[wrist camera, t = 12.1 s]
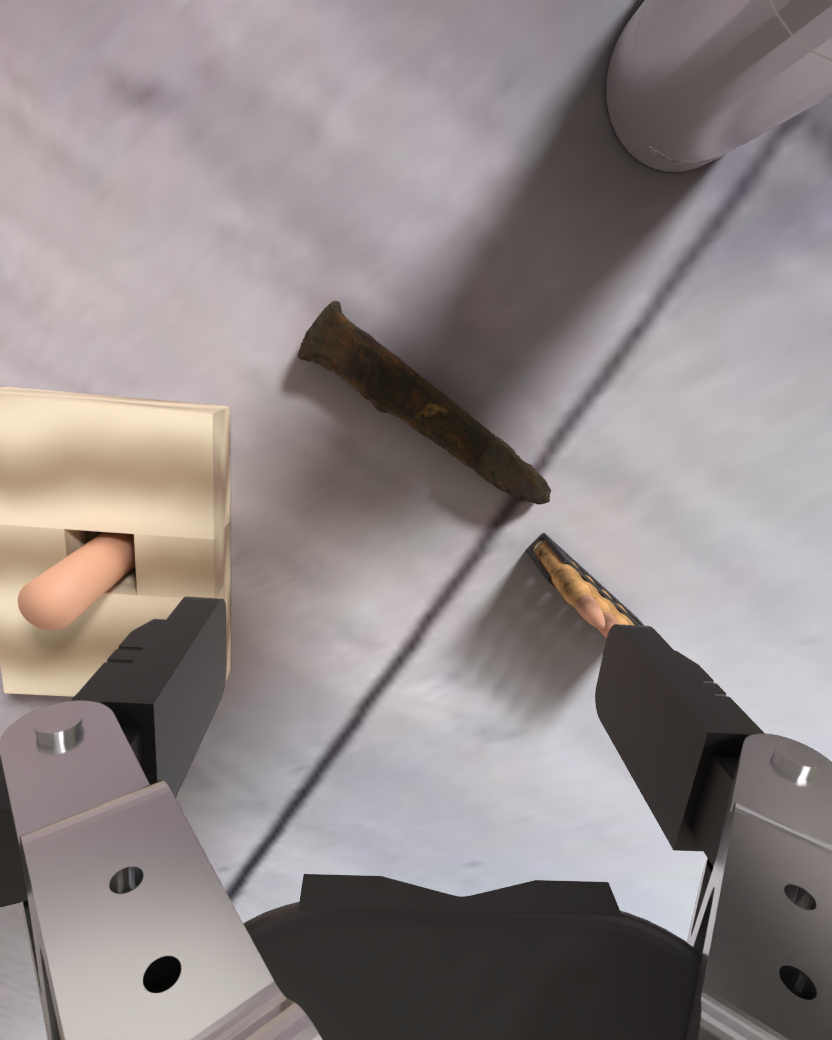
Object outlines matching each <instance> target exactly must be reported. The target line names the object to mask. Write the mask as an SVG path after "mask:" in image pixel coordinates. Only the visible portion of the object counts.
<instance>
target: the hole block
mask: <svg viewBox="0 0 832 1040" xmlns="http://www.w3.org/2000/svg"><path fill="white" fill-rule="evenodd" d="M97 531H98V532H113V533H127V534H134V545H135V563H136V570H132V569H131V570H130V571H129V572H127V573H126V574H125V575H124V576H123V577H122V578H121V579H120V580H119V581H117V582H116V583H115V584H114V585H113V586H112V587H111V588H110V589H108V590H107V591H106V592H105V593H104V594H103V595H102V596H101V597H100V598H98V599H97V600H96V601H95V602H94V603H93V604H92V605H91V606H89V607H88V608H87V609H86V610H85V611H84V612H83V613H82V614H81V615H79V616H78V617H77V618H76V619H75V620H74V621H73V622H72V623H71V624H69V625H68V626H67V627H65V628H63V629H59V630H44V629H40V628H38V627H35V626H34V625H32V624H31V623H29V622H28V621H27V620H26V619H25V618H24V617H23V615H22V614H21V612H20V610H19V607H18V595H19V592H20V590H21V589H22V588H23V587H24V586H25V585H26V584H27V583H29V582H30V581H32V580H33V579H35V578H36V577H38V576H39V575H41V574H42V573H44V572H45V571H46V570H48V569H49V568H51V567H52V566H54V565H55V564H57V563H58V562H60V561H61V560H63V559H64V558H66V557H67V556H69V555H70V554H72V553H73V552H75V551H76V550H78V549H79V548H80V547H82V546H83V545H85V544H86V543H88V542H89V541H91V540H92V539H94V538H95V537H97ZM185 596H188V597H204V598H220V599H224V600H225V603H226V621H227V671H226V680H227V678H228V676H229V674H230V672H231V603H230V406H219V405H207V404H196V403H185V402H173V401H162V400H151V399H139V398H128V397H116V396H105V395H94V394H82V393H71V392H60V391H48V390H37V389H26V388H14V387H2V388H0V666H1V673H2V680H3V688H4V693H12V694H32V695H53V696H73V697H74V696H75V695H76V694H77V693H78V692H79V691H80V690H81V688H82V687H83V686H84V685H85V684H86V683H87V682H88V680H89V679H90V678H91V677H92V676H93V675H94V674H95V672H96V671H97V670H98V669H99V668H100V667H101V666H102V664H103V663H104V662H107V659H108V658H109V656H110V655H111V654H112V653H113V652H114V651H115V650H116V649H118V646H119V645H120V644H121V643H122V642H123V640H124V639H125V638H126V637H127V636H128V635H129V634H130V632H131V631H133V630H135V629H136V628H138V627H140V626H142V625H144V624H145V623H147V622H149V621H151V620H153V619H165V620H166V619H167V618H168V617H169V615H170V614H171V613H172V611H173V610H174V609H175V608H176V606H177V605H178V604H179V603H180V601H181V600H182V599H183V598H184V597H185ZM225 683H226V681H225Z"/></svg>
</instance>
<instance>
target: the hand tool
mask: <svg viewBox="0 0 832 1040" xmlns="http://www.w3.org/2000/svg"><path fill="white" fill-rule="evenodd" d="M298 357H299V358H300V359H301V360H306V361H312V362H315V363H318V364H320V365H322V366H324V367H325V368H327V369H329V370H333V371H334V372H335V373H336V374H337V375H339V376H341V377H342V378H343V379H345V380H346V381H348V383H349V384H350V385H352V386H353V387H354V388H355V389H356V390H357V391H359V392H360V393H361V394H362V396H364V397H365V398H366V399H368V400H370V401H371V402H372V403H373V404H374V406H375V408H376V409H377V410H379V411H381V412H385V413H390V414H392V415H395V416H397V417H399V418H400V419H402V420H403V421H405V422H406V423H408V424H409V425H410V426H412V427H413V428H414V429H416V430H417V431H418V432H420V433H421V434H423V435H424V436H426V437H427V438H429V439H430V440H432V441H433V442H435V443H436V444H438V445H439V446H441V447H442V448H444V449H445V450H447V451H448V452H449V453H451V454H452V455H453V456H455V457H456V458H457V459H458V460H460V461H461V462H462V463H464V464H465V465H467V466H469V467H471V468H472V469H474V470H475V472H477V473H478V474H479V475H480V476H481V477H483V478H484V479H485V480H487V481H488V482H490V483H491V484H493V485H494V486H495V487H497V488H498V489H500V490H502V491H504V492H506V493H508V494H510V495H511V496H513V497H515V498H517V499H519V500H521V501H527V502H533V503H536V504H544V503H547V502H549V501H550V499H549V498H550V492H551V489H550V488H549V486H548V484H547V482H546V480H545V479H544V478H543V477H542V476H541V475H540V474H539V473H538V472H537V471H536V470H535V469H534V468H533V467H532V465H530V464H528V463H526V462H524V461H523V460H522V459H521V458H520V457H519V456H518V455H517V454H516V453H515V451H514V450H513V449H512V448H511V447H510V446H509V445H508V444H507V443H505V442H504V441H502V440H501V439H500V438H498V437H496V436H495V435H493V434H492V433H491V432H490V431H489V430H487V429H486V428H485V427H484V426H483V425H481V424H480V423H479V422H478V421H476V420H475V419H474V418H473V417H471V416H470V415H469V414H468V413H466V412H465V411H464V410H463V409H461V408H460V407H459V406H458V405H456V404H455V403H454V402H453V401H452V400H450V399H449V398H448V397H447V396H445V395H444V394H443V393H442V392H440V391H439V390H438V389H437V388H435V387H434V386H433V385H431V384H430V383H429V382H428V381H427V380H425V379H424V378H423V377H421V376H420V375H419V374H418V373H416V372H415V371H414V370H412V369H411V368H410V367H408V366H407V365H406V364H405V363H404V362H403V361H402V360H401V359H400V358H399V357H397V356H396V355H394V354H393V353H391V352H389V351H388V350H387V349H386V348H385V347H383V346H382V345H381V344H379V343H378V342H377V341H376V340H374V339H373V337H371V336H370V335H369V334H367V333H366V332H364V331H363V330H361V329H359V328H358V327H357V326H355V325H354V324H353V323H351V322H350V321H349V320H348V319H347V318H346V317H345V316H344V314H343V313H342V310H341V306H340V302H338V301H333V302H331V303H330V304H329V305H328V306H327V307H326V308H325V309H324V310H323V311H322V313H321V314H320V315H319V316H318V318H317V319H316V320H315V322H314V323H313V324H312V326H311V327H310V328H309V330H308V331H307V332H306V335H305V337H304V339H303V342H302V343H301V348H300V350H299V353H298Z"/></svg>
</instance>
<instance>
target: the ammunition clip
mask: <svg viewBox="0 0 832 1040" xmlns="http://www.w3.org/2000/svg"><path fill="white" fill-rule="evenodd" d="M526 551H527V553H528V554H529V556H530V557H531V558H532V560H533V561H534V563H535V564H536V565H537V567H538V568H539V570H540V571H541V572H542V574H543V575H544V577H545V578H546V580H547V581H548V582H550V583H551V584H552V585H553V586H554V587H555V588H556V589H557V590H558V591H559V592H560V594H561V595H562V596H563V598H564V599H565V600H566V601H567V602H568V603H569V604H570V605H572V606H573V607H574V608H575V610H576V611H578V613H579V614H580V615H581V616H582V617H583V618H584V619H585V620H586V621H587V622H588V623H589V624H591V625H592V626H594V627H596V628H597V629H598V630H599V631H600V633H601V634H602V635H603V636H604V637H605V638H606V639H607V635H608V632H609V630H610V628H611V627H612V626H613V625H614V624H622V625H638V626H644V625H643V624H642V622H641V621H640V620H639V619H638V618H637V617H636V616H635V615H634V614H633V613H632V612H631V611H629V610H628V609H627V608H626V607H625V606H624V605H623V604H622V603H621V602H620V601H618V600H617V599H616V598H615V597H614V596H613V595H612V594H611V593H610V592H609V591H607V590H606V589H605V588H604V587H603V586H602V585H601V584H600V583H599V582H598V581H597V580H595V579H594V578H593V577H592V576H591V575H590V574H589V573H588V572H587V571H586V570H584V569H583V568H582V567H581V566H580V565H579V564H578V563H577V562H576V561H575V560H574V559H572V558H571V557H570V556H569V555H568V554H567V553H566V552H565V551H564V550H563V549H561V548H560V547H559V546H558V545H557V544H556V543H555V542H554V541H553V540H552V539H550V538H549V537H548V536H547V535H546V534H545V533H543V534H542V535H541V536H540V537H539V538H538V539H537V540H536V541H535V542H534V543H533V544H532V545H531V546H530V547H529V548H528V549H527V550H526Z"/></svg>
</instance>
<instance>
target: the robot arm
mask: <svg viewBox="0 0 832 1040" xmlns="http://www.w3.org/2000/svg"><path fill="white" fill-rule="evenodd" d="M606 92H607V105H608V111H609V116H610V120H611V122H612V125H613V127H614V130H615V132H616V135H617V137H618V138H619V140H620V141H621V143H622V144H623V146H624V147H625V149H626V150H627V151H628V152H629V153H631V154H632V155H633V156H634V157H635V158H636V159H637V160H638V161H640V162H642V163H644V164H645V165H647V166H649V167H651V168H654V169H658V170H662V171H665V172H683V171H688V170H692V169H696V168H699V167H701V166H703V165H705V164H707V163H709V162H711V161H713V160H716V159H718V158H720V157H721V156H722V155H724V154H726V153H728V152H730V151H731V150H733V149H735V148H737V147H739V146H740V145H743V144H745V143H747V142H748V141H750V140H752V139H754V138H756V137H757V136H759V135H761V134H763V133H765V132H767V131H768V130H770V129H772V128H774V127H776V126H777V125H779V124H781V123H783V122H785V121H787V120H788V119H790V118H792V117H794V116H796V115H798V114H799V113H801V112H803V111H805V110H807V109H808V108H810V107H812V106H814V105H816V104H818V103H819V102H821V101H823V100H825V99H827V98H828V97H830V96H832V0H644V2H643V3H642V4H641V6H640V7H639V8H638V10H637V11H636V12H635V14H634V15H633V16H632V18H631V19H630V20H629V21H628V23H627V24H626V26H625V28H624V30H623V31H622V33H621V35H620V37H619V38H618V40H617V42H616V45H615V48H614V51H613V53H612V56H611V59H610V63H609V69H608V75H607V80H606ZM226 671H227V621H226V603H225V600H224V599H220V598H204V597H188V596H185V597H184V598H183V599H182V600H181V601H180V603H179V604H178V605H177V606H176V608H175V609H174V610H173V611H172V613H171V614H170V615H169V617H168V618H167V619H166V620H165V619H153V620H151V621H149V622H147V623H145V624H144V625H142V626H140V627H138V628H136V629H135V630H133V631H131V632H130V634H129V635H128V636H127V637H126V638H125V639H124V640H123V642H122V643H121V644H120V645H119V646H118V649H116V650H115V651H114V652H113V653H112V654H111V655H110V656H109V658H108V659H107V662H104V663H103V664H102V666H101V667H100V668H99V669H98V670H97V671H96V672H95V674H94V675H93V676H92V677H91V678H90V679H89V680H88V682H87V683H86V684H85V685H84V686H83V687H82V688H81V690H80V691H79V692H78V693H77V694H76V695H75V696H74V698H73V699H72V700H71V701H68V702H61V703H57V704H52V705H49V706H46V707H43V708H40V709H38V710H35V711H33V712H31V713H29V714H27V715H25V716H23V717H22V718H20V719H19V720H17V721H16V722H14V723H13V724H12V725H11V726H10V727H9V728H8V729H7V730H6V731H5V732H4V734H3V735H2V737H1V739H0V907H4V906H8V905H12V904H16V903H20V902H22V908H23V913H24V918H25V923H26V928H27V933H28V939H29V944H30V949H31V954H32V959H33V964H34V969H35V974H36V980H37V985H38V990H39V995H40V1000H41V1005H42V1010H43V1016H44V1021H45V1026H46V1032H47V1038H48V1040H832V762H831V761H830V760H829V759H828V758H826V757H825V756H823V755H822V754H821V753H819V752H817V751H816V750H814V749H812V748H810V747H808V746H806V745H804V744H802V743H800V742H797V741H795V740H792V739H789V738H786V737H782V736H778V735H773V734H765V733H764V732H763V731H762V730H761V729H760V728H759V727H758V726H757V725H756V724H755V723H754V722H753V721H752V720H751V719H750V718H749V717H748V716H747V715H746V713H745V712H744V711H743V710H742V709H741V708H740V707H739V706H738V705H737V704H736V703H735V702H734V701H733V700H732V699H731V698H730V697H726V693H725V692H724V691H723V690H722V689H721V688H720V687H719V686H718V684H715V683H714V682H713V681H714V680H713V679H712V678H711V677H710V676H709V675H708V674H707V673H706V672H705V671H704V670H703V669H702V668H701V667H700V666H699V665H698V664H696V663H695V662H693V661H692V660H690V659H688V658H687V657H685V656H684V655H682V654H680V653H679V652H677V651H674V650H673V649H672V648H671V647H670V646H669V645H668V643H667V642H666V641H665V640H664V639H663V638H662V637H661V636H660V635H659V634H658V633H657V632H656V631H655V630H654V629H653V628H652V627H650V626H638V625H622V624H614V625H613V626H612V627H611V628H610V630H609V632H608V635H607V640H606V644H605V649H604V653H603V658H602V663H601V667H600V672H599V677H598V681H597V686H596V693H595V702H596V709H597V714H598V717H599V719H600V721H601V723H602V725H603V726H604V728H605V730H606V732H607V733H608V735H609V737H610V739H611V740H612V742H613V744H614V746H615V748H616V749H617V751H618V753H619V755H620V756H621V758H622V760H623V762H624V763H625V765H626V767H627V769H628V771H629V772H630V774H631V776H632V778H633V779H634V781H635V783H636V785H637V786H638V788H639V790H640V792H641V794H642V795H643V797H644V799H645V801H646V802H647V804H648V806H649V808H650V809H651V811H652V813H653V815H654V817H655V818H656V820H657V822H658V824H659V825H660V827H661V829H662V831H663V832H664V834H665V836H666V838H667V840H668V841H669V843H670V845H671V847H672V848H673V850H681V851H704V853H705V854H706V856H707V860H706V863H705V866H704V870H703V873H702V876H701V881H700V885H699V890H698V894H697V898H696V903H695V907H694V912H693V916H692V920H691V925H690V929H689V934H688V938H687V942H686V941H684V940H683V939H681V938H679V937H678V936H676V935H674V934H673V933H671V932H669V931H668V930H666V929H664V928H662V927H660V926H658V925H656V924H654V923H652V922H650V921H648V920H645V919H643V918H640V917H637V916H635V915H632V914H629V913H626V912H623V911H620V910H619V907H618V905H617V902H616V900H615V898H614V895H613V893H612V890H611V888H610V885H609V883H608V882H581V881H544V880H535V881H531V882H526V883H522V884H518V885H514V886H510V887H505V888H501V889H497V890H493V891H488V892H484V893H480V894H476V895H472V896H466V897H459V896H453V895H450V894H446V893H442V892H438V891H435V890H431V889H427V888H423V887H420V886H416V885H412V884H408V883H405V882H401V881H397V880H393V879H390V878H386V877H382V876H356V875H319V874H304V876H303V883H302V889H301V896H300V902H297V903H293V904H289V905H285V906H282V907H279V908H276V909H273V910H271V911H268V912H265V913H263V914H261V915H259V916H257V917H255V918H253V919H251V920H249V921H247V922H245V923H243V922H242V921H241V919H240V917H239V915H238V913H237V911H236V909H235V908H234V906H233V904H232V902H231V900H230V898H229V896H228V895H227V893H226V891H225V889H224V887H223V885H222V884H221V882H220V880H219V878H218V876H217V874H216V872H215V871H214V869H213V867H212V865H211V863H210V861H209V859H208V858H207V856H206V854H205V852H204V850H203V848H202V846H201V845H200V843H199V841H198V839H197V837H196V835H195V834H194V832H193V830H192V828H191V826H190V824H189V822H188V821H187V819H186V817H185V815H184V813H183V811H182V809H181V808H180V806H179V804H178V802H177V800H176V796H177V794H178V792H179V789H180V787H181V785H182V783H183V781H184V779H185V776H186V774H187V772H188V770H189V768H190V765H191V763H192V761H193V759H194V757H195V755H196V752H197V750H198V748H199V746H200V744H201V742H202V739H203V737H204V735H205V733H206V731H207V728H208V726H209V724H210V722H211V720H212V718H213V715H214V713H215V711H216V709H217V707H218V705H219V702H220V700H221V698H222V695H223V691H224V686H225V681H226Z"/></svg>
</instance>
